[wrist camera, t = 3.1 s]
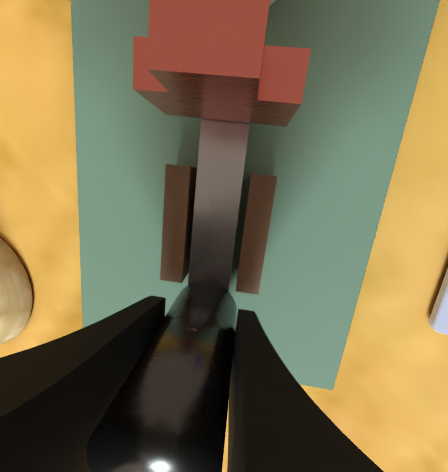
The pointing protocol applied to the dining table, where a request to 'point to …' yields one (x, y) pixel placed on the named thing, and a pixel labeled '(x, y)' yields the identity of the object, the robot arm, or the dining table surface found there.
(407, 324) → the dining table surface
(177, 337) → the kicker rod
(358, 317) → the dining table surface
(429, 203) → the dining table surface
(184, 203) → the rail guides
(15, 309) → the hand bell
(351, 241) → the mat
